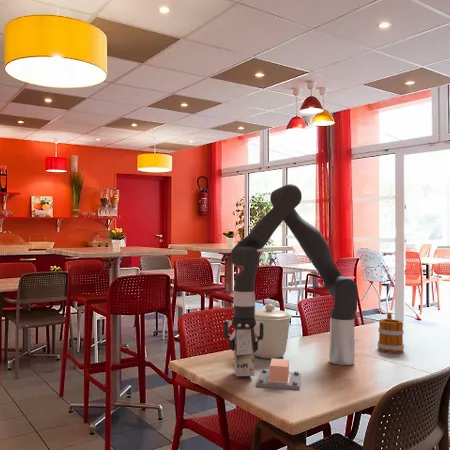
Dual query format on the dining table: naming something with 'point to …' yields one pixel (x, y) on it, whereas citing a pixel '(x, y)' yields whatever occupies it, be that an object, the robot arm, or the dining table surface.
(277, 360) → the brick
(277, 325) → the canister
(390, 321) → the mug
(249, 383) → the dining table surface
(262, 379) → the plate
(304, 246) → the robot arm
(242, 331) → the coffee box
